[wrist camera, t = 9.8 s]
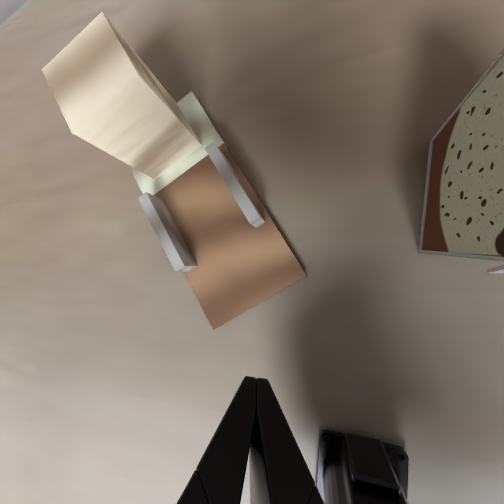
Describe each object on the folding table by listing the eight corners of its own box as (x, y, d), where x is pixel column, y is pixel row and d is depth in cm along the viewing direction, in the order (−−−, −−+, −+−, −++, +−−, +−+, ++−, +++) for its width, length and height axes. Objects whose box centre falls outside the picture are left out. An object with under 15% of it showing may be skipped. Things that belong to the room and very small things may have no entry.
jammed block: (201, 145, 24) (138, 74, 15) (155, 180, 25) (71, 132, 16) (175, 101, 25) (102, 11, 16) (132, 136, 26) (41, 69, 17)
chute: (306, 275, 21) (305, 276, 18) (216, 327, 23) (201, 337, 20) (195, 96, 25) (178, 71, 22) (125, 152, 27) (100, 136, 24)
